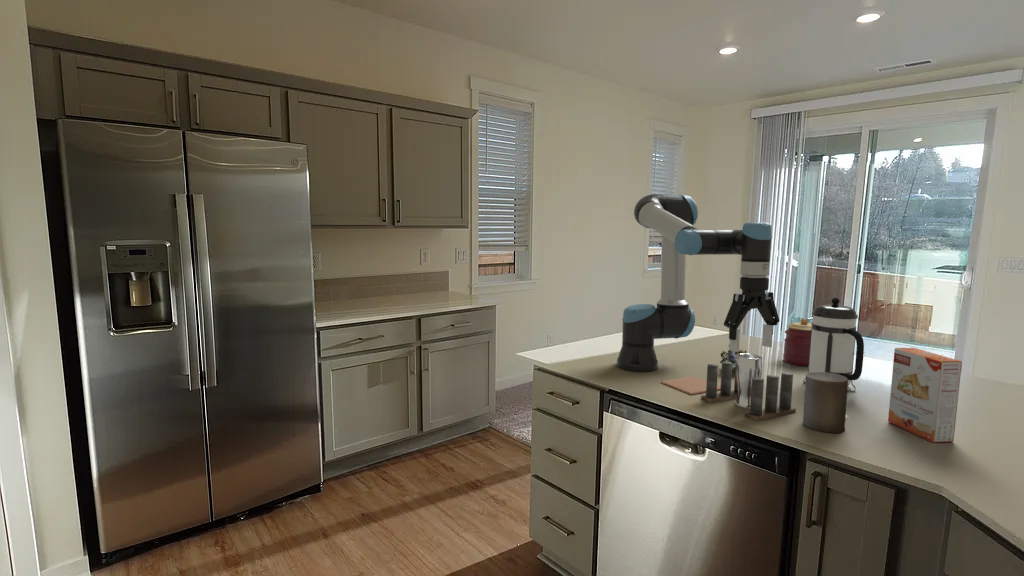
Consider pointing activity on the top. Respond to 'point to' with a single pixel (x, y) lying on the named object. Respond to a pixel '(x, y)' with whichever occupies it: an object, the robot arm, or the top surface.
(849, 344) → the coffee press
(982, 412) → the top surface
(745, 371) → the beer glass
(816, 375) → the pillar candle
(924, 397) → the cracker box
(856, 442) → the top surface
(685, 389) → the tile pad
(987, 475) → the top surface
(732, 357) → the passion flower
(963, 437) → the top surface
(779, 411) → the rack
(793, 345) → the canister
